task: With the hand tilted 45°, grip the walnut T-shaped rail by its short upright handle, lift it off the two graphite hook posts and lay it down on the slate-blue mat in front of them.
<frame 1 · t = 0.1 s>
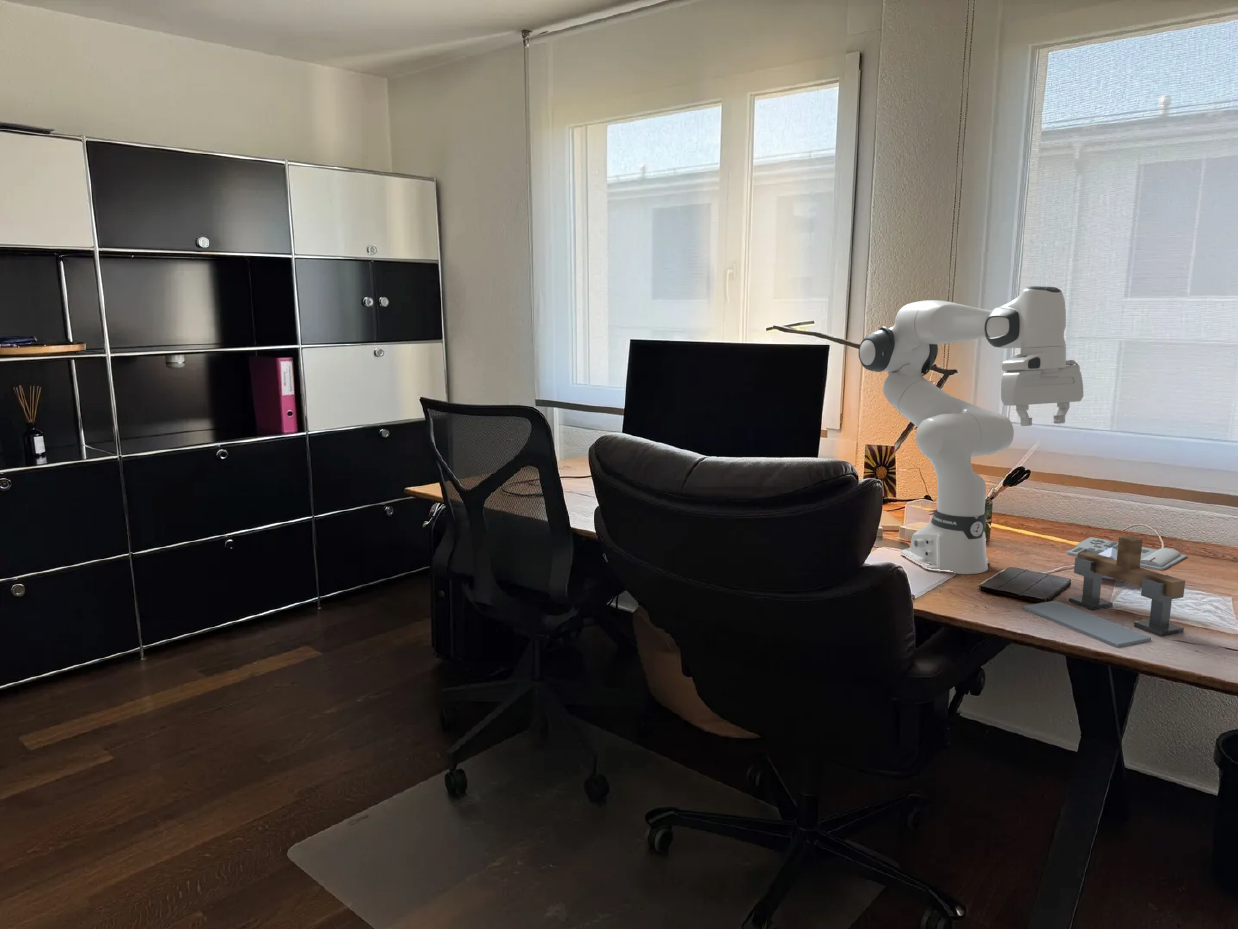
hand: (1043, 424, 185), 39 cm above the table, tool pointing down, fingers open, 8 cm apart
slate mat: (1083, 623, 174), on the table
office telephone: (1123, 558, 221), on the table
hook posts: (1123, 616, 178), on the table
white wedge: (1109, 576, 204), on the table
walnut rail: (1126, 580, 176), point 8 cm above the table, touching hook posts
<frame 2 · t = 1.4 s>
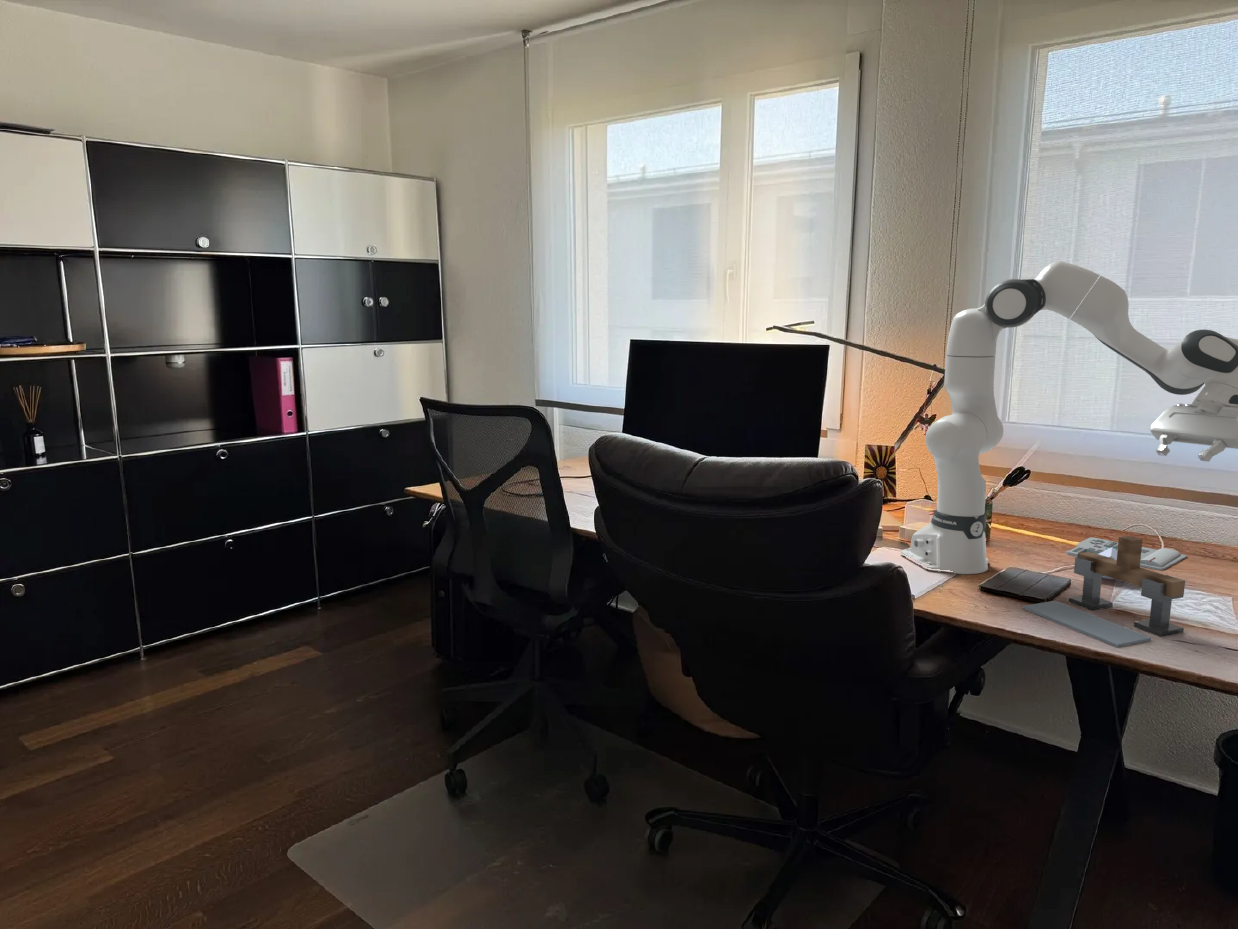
hand: (1181, 456, 177), 33 cm above the table, tool tilted 45°, fingers open, 8 cm apart
nothing on the table moved.
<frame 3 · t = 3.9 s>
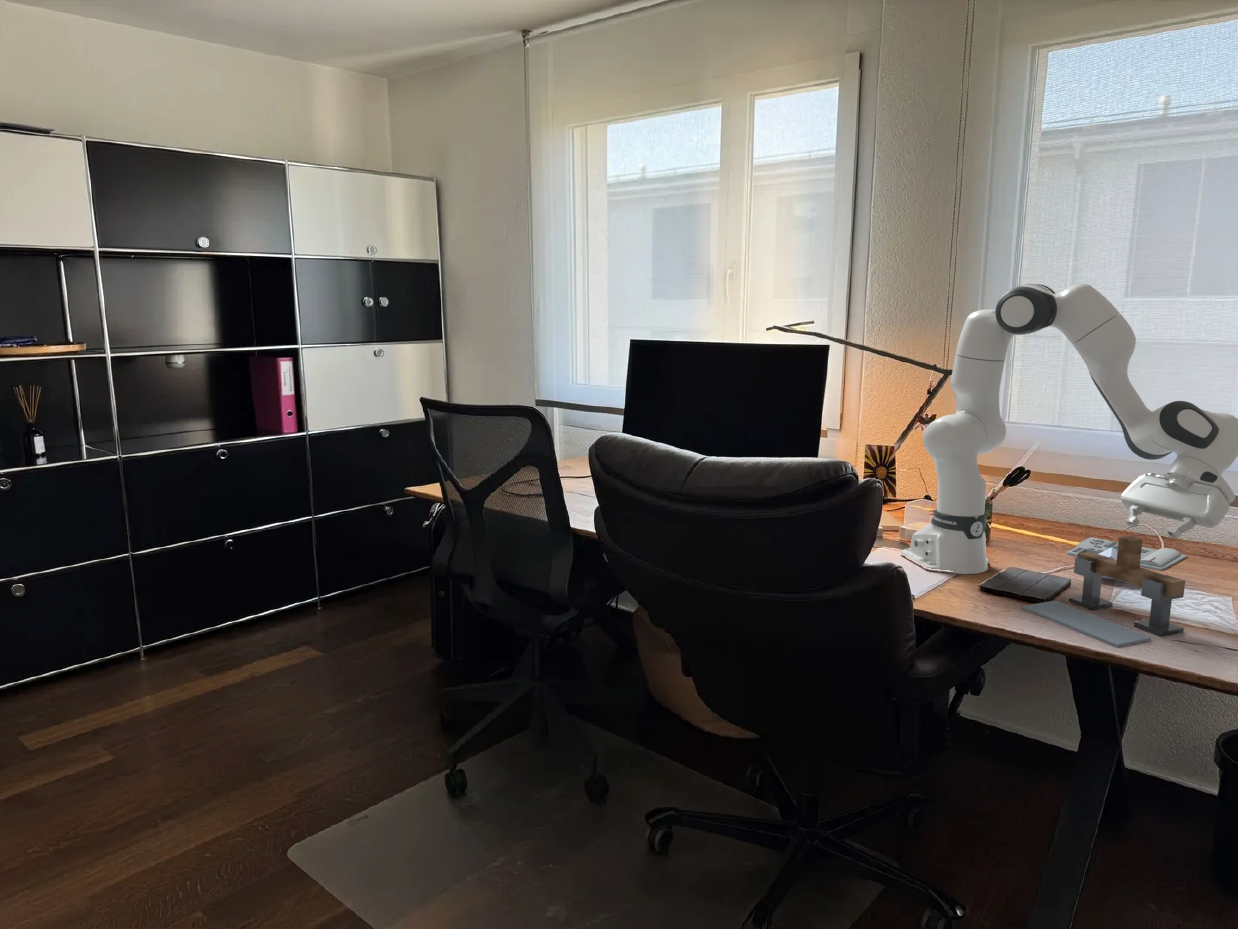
hand: (1150, 530, 177), 18 cm above the table, tool tilted 45°, fingers open, 8 cm apart
nothing on the table moved.
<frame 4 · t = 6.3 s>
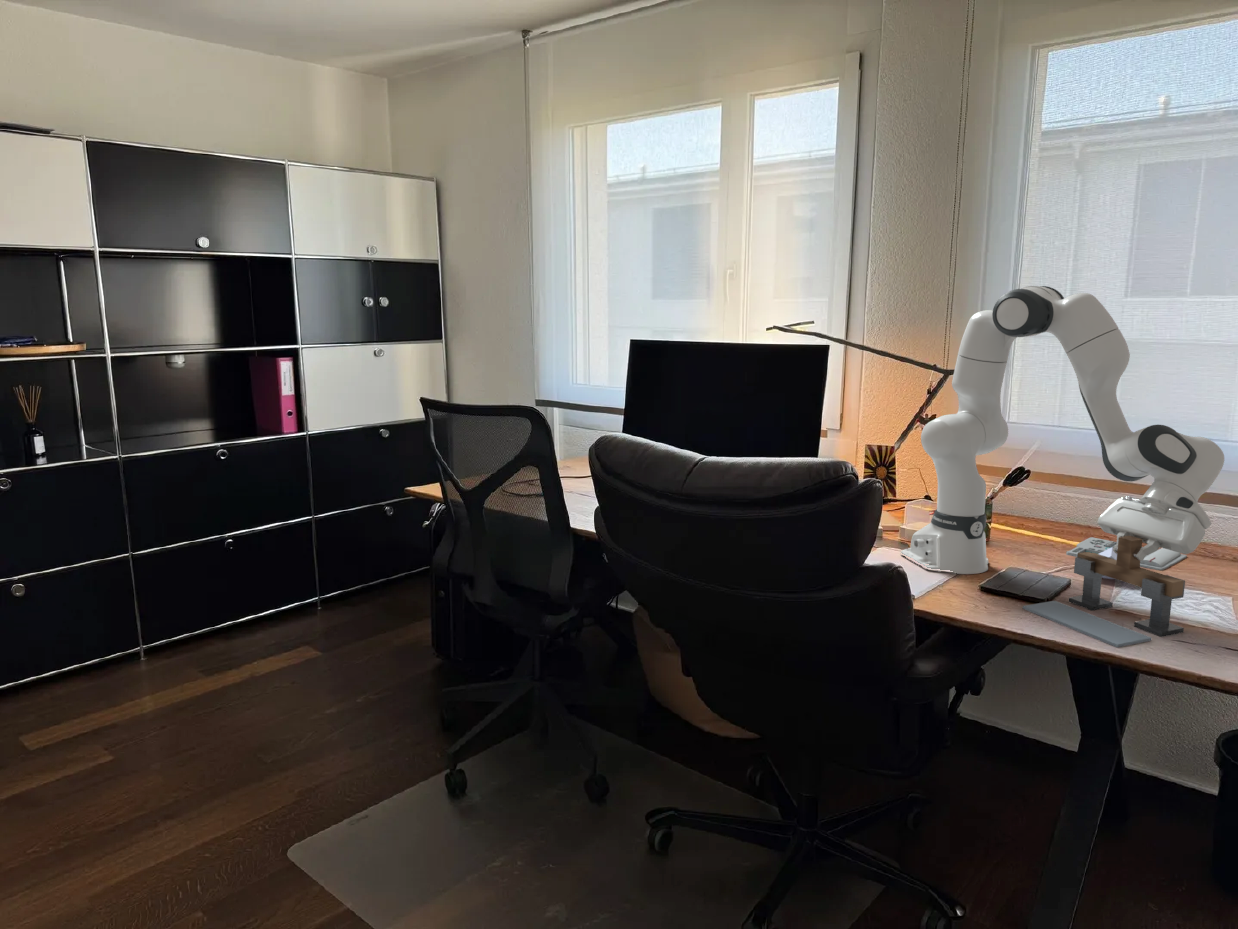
hand: (1126, 555, 175), 13 cm above the table, tool tilted 45°, fingers closed on walnut rail, 3 cm apart
walnut rail: (1126, 580, 176), point 8 cm above the table, touching gripper, hook posts
everything else where it was.
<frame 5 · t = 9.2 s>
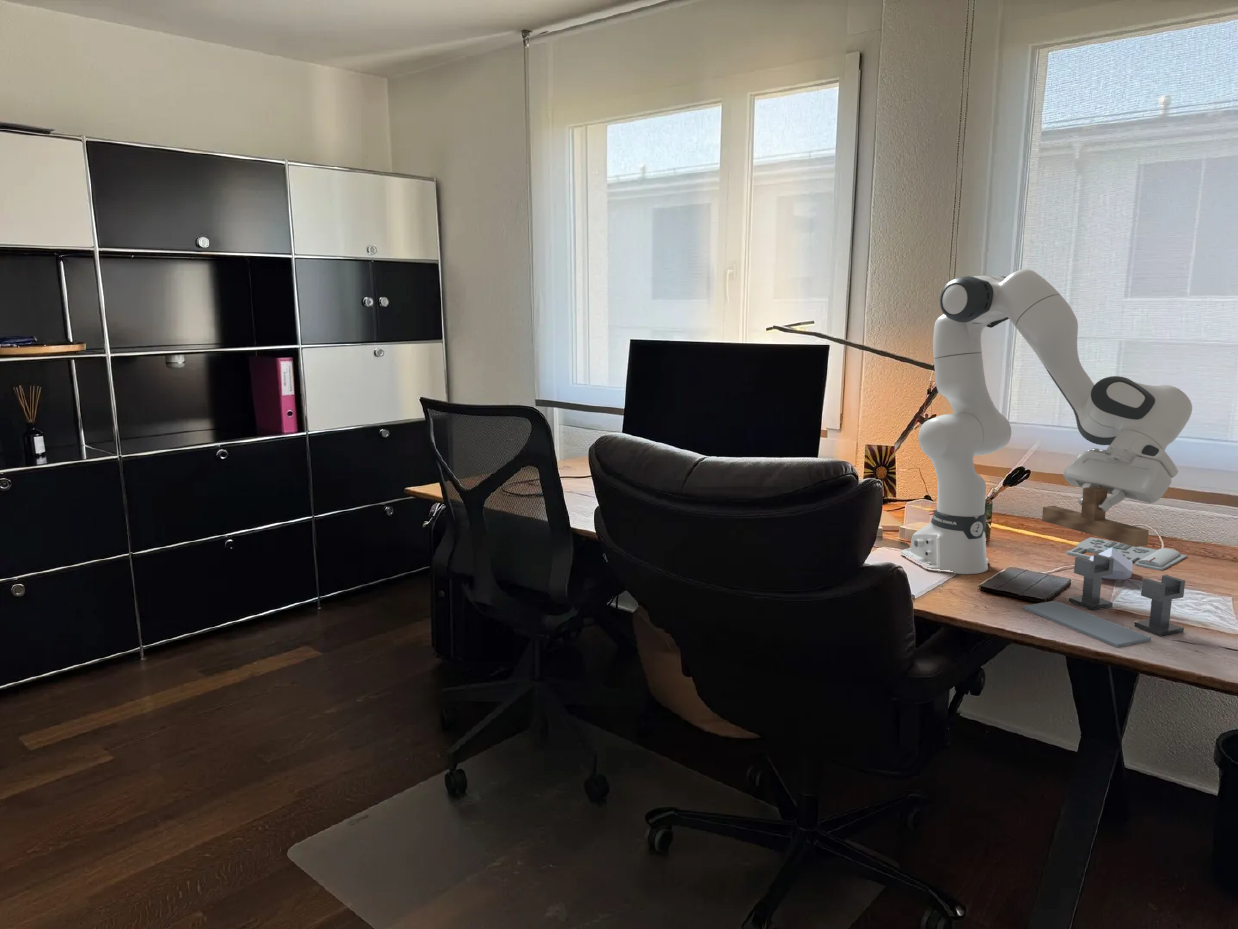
hand: (1091, 506, 169), 25 cm above the table, tool tilted 45°, fingers closed on walnut rail, 3 cm apart
walnut rail: (1091, 532, 171), point 19 cm above the table, touching gripper
everything else where it was.
when the fingers open (8 cm above the table, at t = 12.5 s): walnut rail drops 2 cm, resting on slate mat.
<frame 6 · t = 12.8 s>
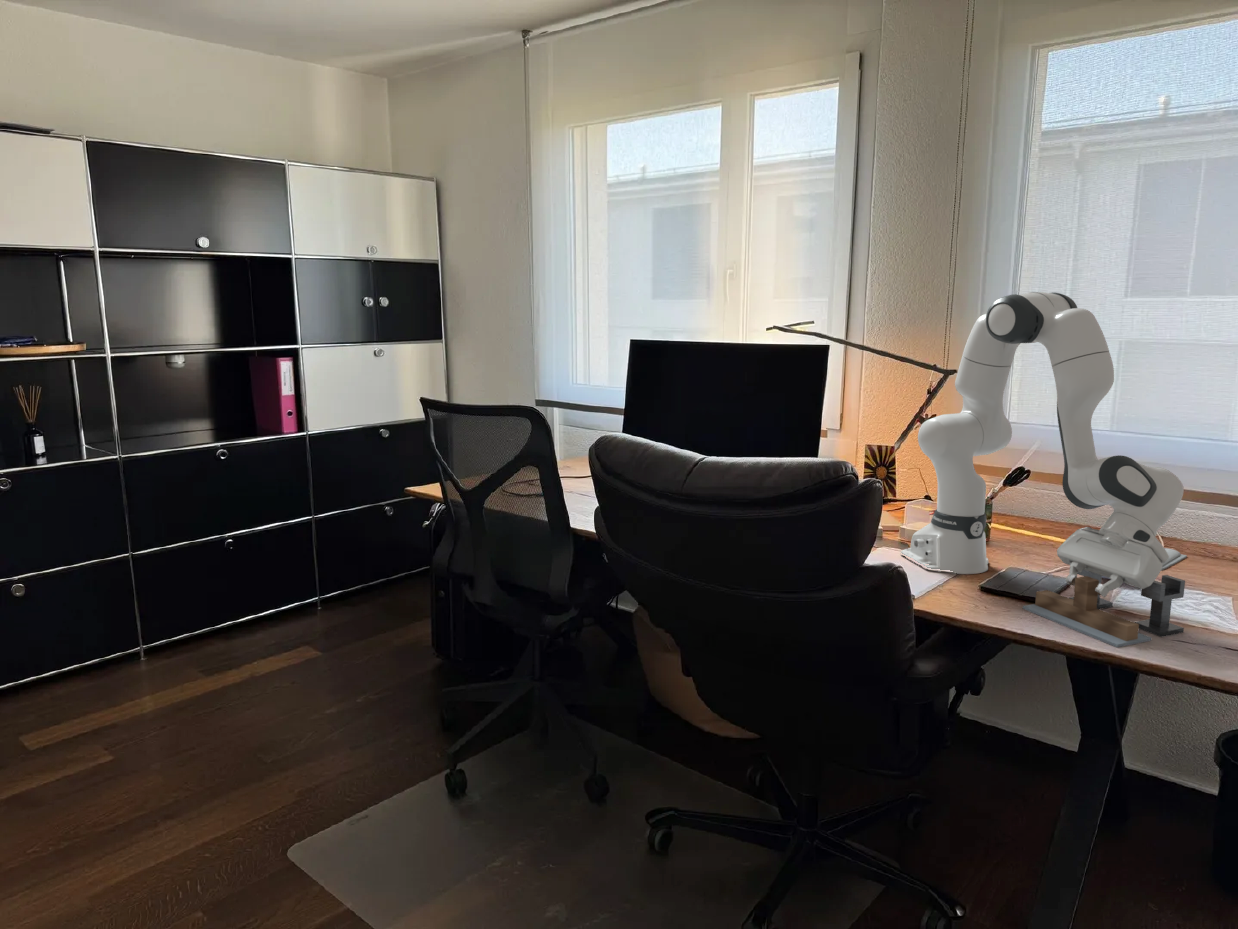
hand: (1084, 588, 173), 8 cm above the table, tool tilted 45°, fingers open, 6 cm apart
walnut rail: (1083, 620, 174), point 1 cm above the table, touching slate mat
everything else where it was.
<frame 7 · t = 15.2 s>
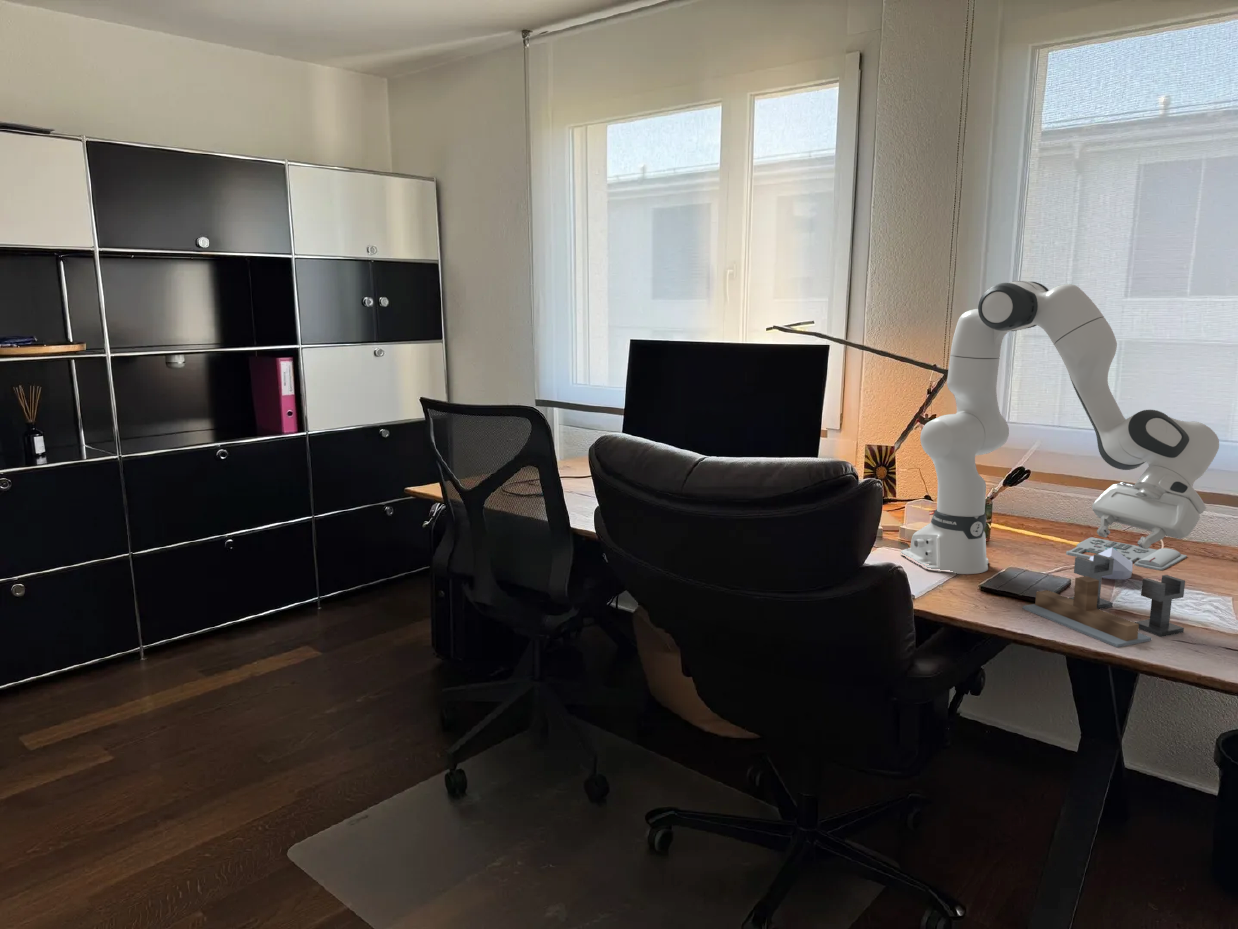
hand: (1120, 540, 174), 17 cm above the table, tool tilted 45°, fingers open, 8 cm apart
nothing on the table moved.
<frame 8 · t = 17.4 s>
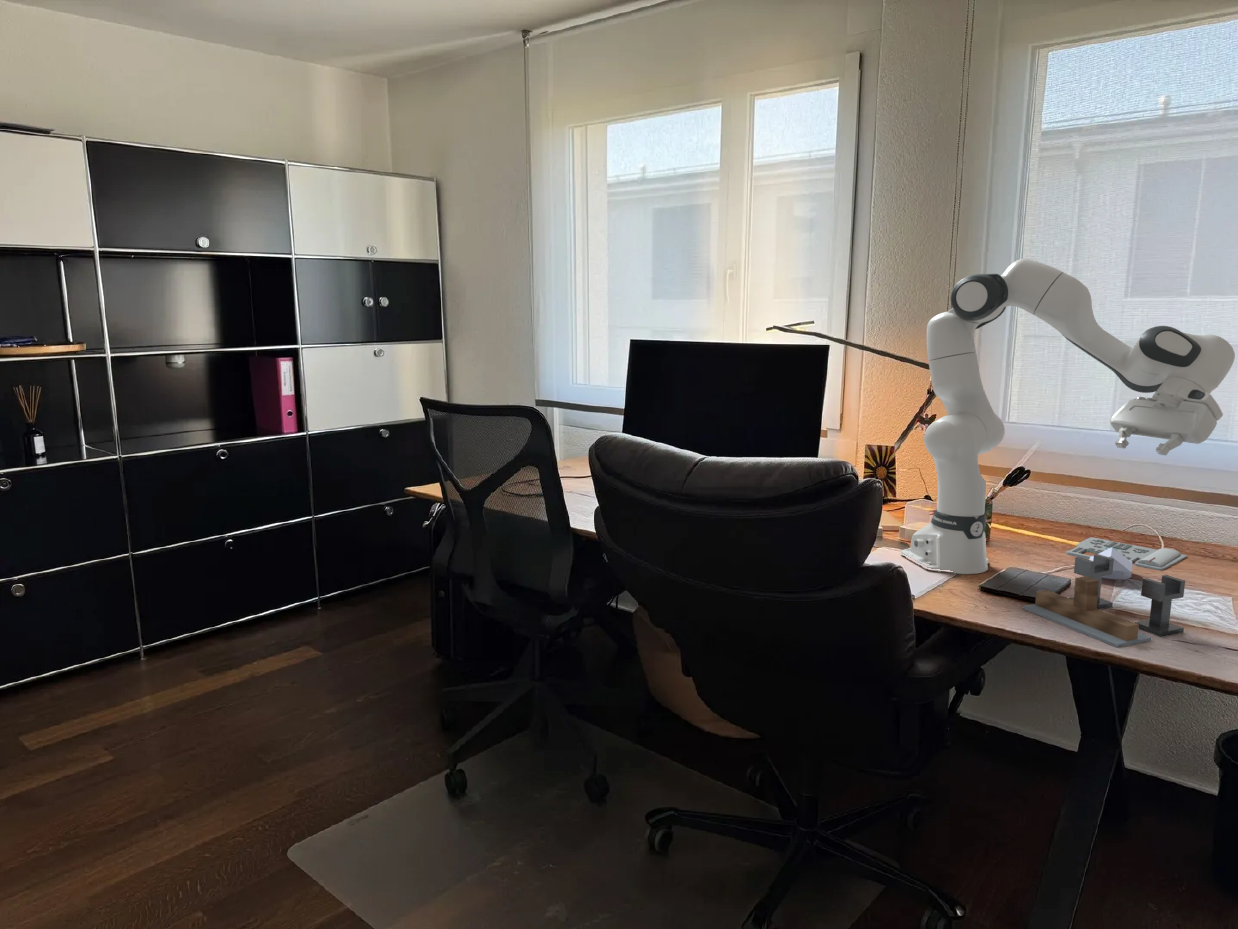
hand: (1139, 449, 178), 34 cm above the table, tool tilted 45°, fingers open, 8 cm apart
nothing on the table moved.
at the end: walnut rail inside the target area on the slate mat (0.1 cm from its centre), point 0.6 cm above the slate mat's base; walnut rail tilted 0°; the gripper is holding nothing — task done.
